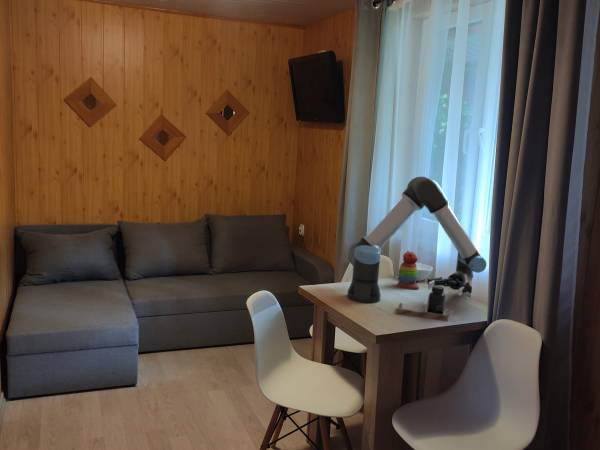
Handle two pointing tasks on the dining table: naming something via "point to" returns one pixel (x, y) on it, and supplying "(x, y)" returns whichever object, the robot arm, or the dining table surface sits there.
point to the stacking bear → (408, 272)
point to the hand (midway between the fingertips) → (443, 289)
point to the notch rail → (422, 313)
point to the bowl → (423, 271)
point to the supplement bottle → (436, 300)
